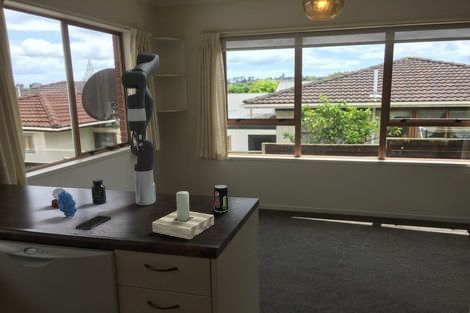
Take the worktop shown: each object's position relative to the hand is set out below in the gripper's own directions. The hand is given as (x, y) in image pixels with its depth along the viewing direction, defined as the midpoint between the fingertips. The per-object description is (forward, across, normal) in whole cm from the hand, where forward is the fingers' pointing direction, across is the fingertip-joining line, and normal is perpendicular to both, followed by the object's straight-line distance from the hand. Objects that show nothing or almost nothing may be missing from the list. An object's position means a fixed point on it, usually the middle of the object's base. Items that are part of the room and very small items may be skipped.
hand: (139, 157), depth 156 cm
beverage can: (+28, -4, -36) cm, 46 cm away
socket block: (+28, -18, -14) cm, 36 cm away
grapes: (+28, +18, +32) cm, 46 cm away
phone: (+29, +4, +20) cm, 35 cm away
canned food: (+28, +39, +34) cm, 59 cm away
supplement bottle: (+28, +36, +17) cm, 48 cm away
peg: (+28, -18, -14) cm, 36 cm away
